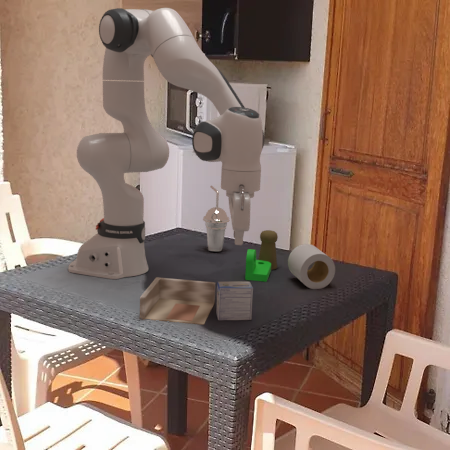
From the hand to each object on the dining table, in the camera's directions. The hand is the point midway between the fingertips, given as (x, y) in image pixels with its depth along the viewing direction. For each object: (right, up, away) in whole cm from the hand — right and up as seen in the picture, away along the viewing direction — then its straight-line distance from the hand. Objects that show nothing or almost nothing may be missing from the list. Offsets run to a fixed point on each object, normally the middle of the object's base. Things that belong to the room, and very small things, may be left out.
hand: (237, 241), depth 153 cm
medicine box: (-1, -19, +5) cm, 19 cm away
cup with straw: (-6, -4, +62) cm, 63 cm away
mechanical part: (+7, -10, +39) cm, 41 cm away
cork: (+10, -9, +46) cm, 48 cm away
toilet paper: (+21, -13, +33) cm, 41 cm away
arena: (-14, -17, +7) cm, 23 cm away
